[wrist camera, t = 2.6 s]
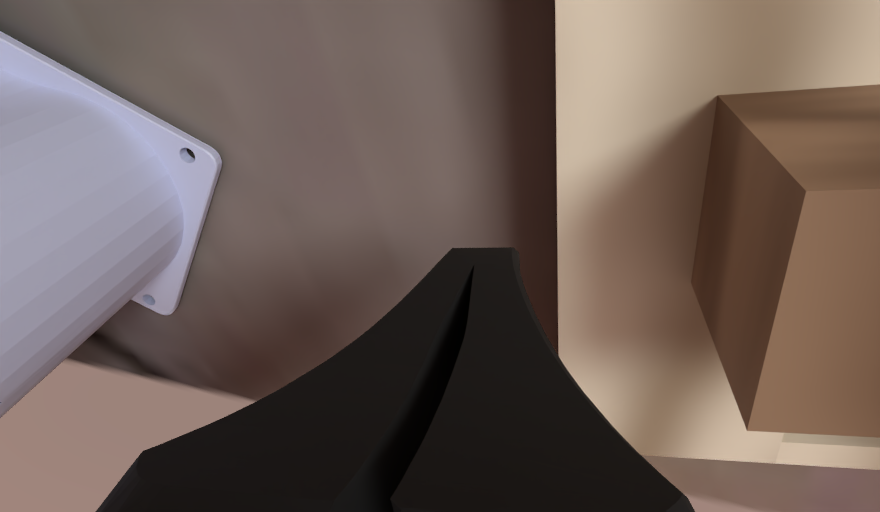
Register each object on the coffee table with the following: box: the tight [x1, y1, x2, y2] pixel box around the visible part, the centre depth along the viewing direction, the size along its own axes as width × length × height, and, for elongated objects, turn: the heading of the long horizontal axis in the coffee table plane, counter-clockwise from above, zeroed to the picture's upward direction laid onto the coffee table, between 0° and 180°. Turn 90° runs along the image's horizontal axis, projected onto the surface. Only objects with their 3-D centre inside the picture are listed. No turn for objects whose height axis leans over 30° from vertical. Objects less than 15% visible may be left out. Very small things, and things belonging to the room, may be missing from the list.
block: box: [691, 84, 880, 438], centre depth 11 cm, size 5×5×5 cm
